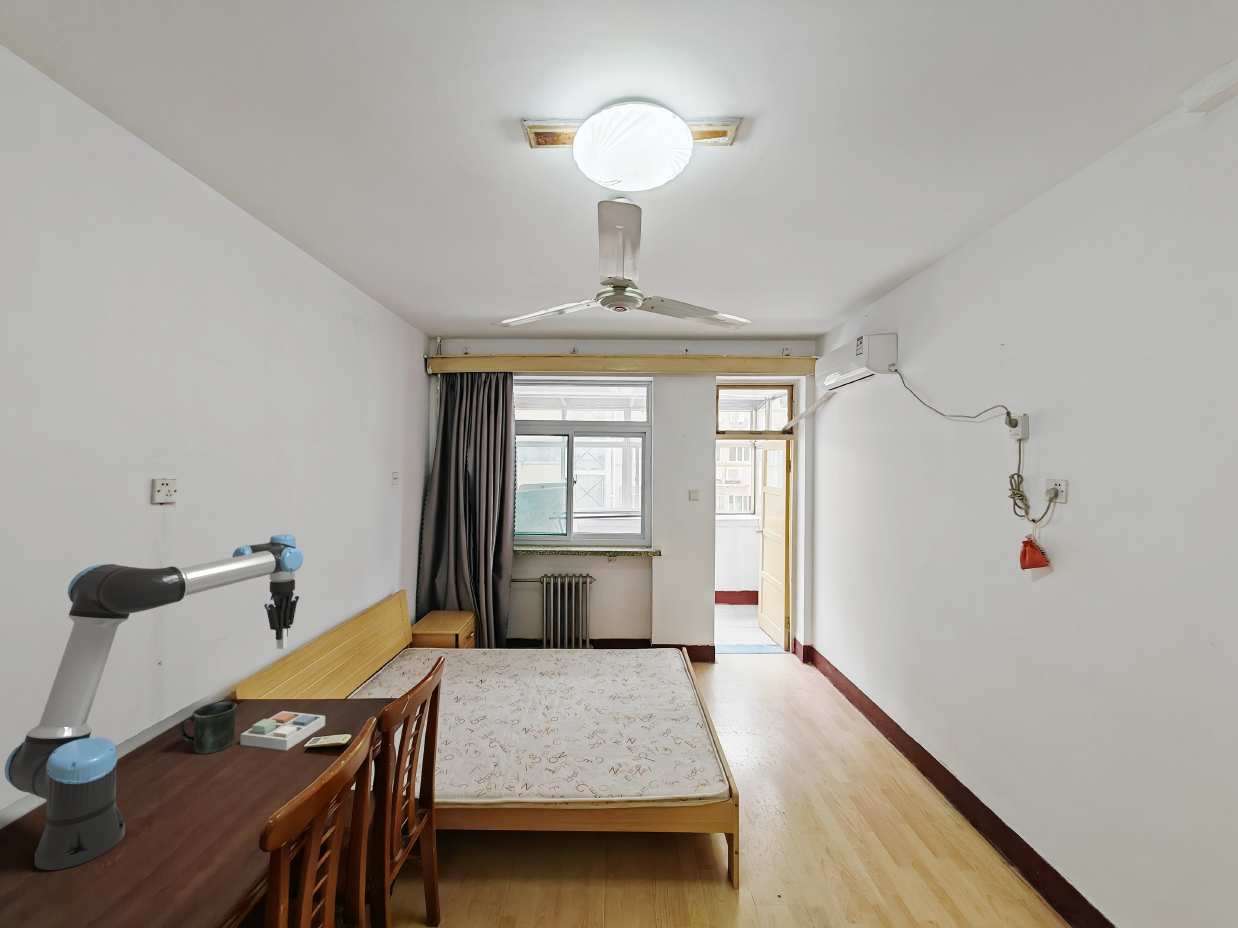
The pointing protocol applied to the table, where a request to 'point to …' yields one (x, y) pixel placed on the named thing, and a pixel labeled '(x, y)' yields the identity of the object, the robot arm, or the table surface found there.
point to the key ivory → (285, 731)
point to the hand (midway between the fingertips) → (281, 647)
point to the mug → (212, 727)
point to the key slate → (304, 720)
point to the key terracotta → (284, 718)
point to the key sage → (264, 726)
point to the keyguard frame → (279, 742)
